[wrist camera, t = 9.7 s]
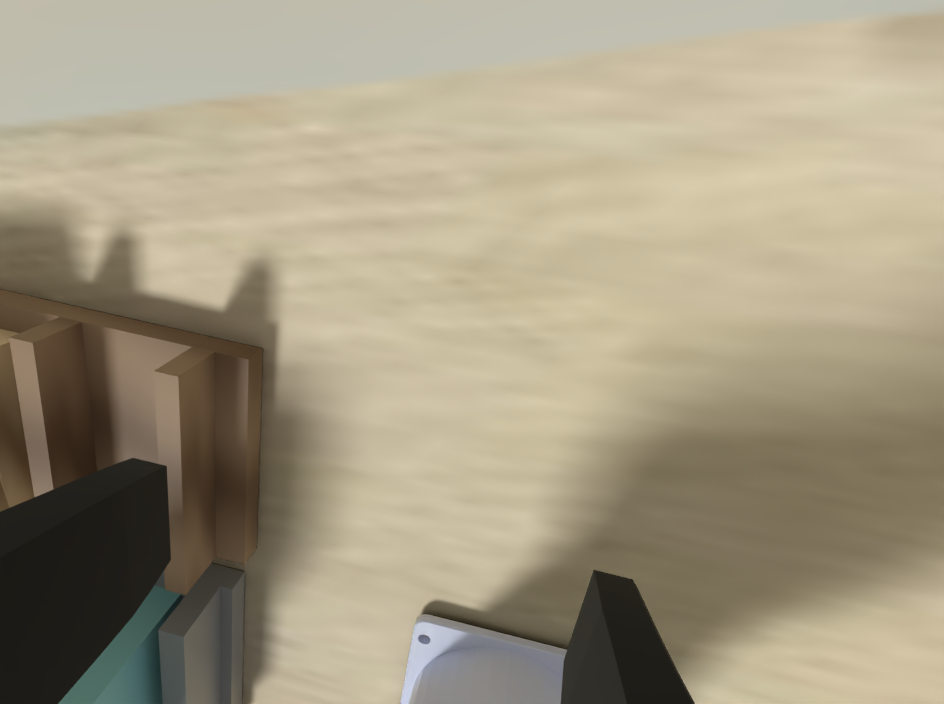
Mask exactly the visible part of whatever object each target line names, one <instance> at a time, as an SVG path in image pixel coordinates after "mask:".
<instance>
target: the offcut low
mask: <svg viewBox="0 0 944 704" xmlns="http://www.w3.org/2000/svg"><path fill="white" fill-rule="evenodd" d="M16 334H19V333H16V332H12V331H7V330H3V329H0V481H1V484H2V487H3V490H4V493H5V496H6V499H7V502H8V505H9V508H10V507H13V506H15V505H17V504H20V503H22V502H25V501H27V500H29V499H32V498H34V492H33V485H32V479H31V473H30V467H29V460H28V454H27V448H26V441H25V435H24V429H23V422H22V416H21V410H20V403H19V397H18V391H17V385H16V378H15V372H14V366H13V359H12V353H11V347H10V340H9V337H12V336H14V335H16Z"/></svg>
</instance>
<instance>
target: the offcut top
mask: <svg viewBox="0 0 944 704" xmlns="http://www.w3.org/2000/svg"><path fill="white" fill-rule="evenodd" d="M8 508H9V505H8V502H7V499H6V496H5V493H4V490H3V487H2V484H1V481H0V511H3V510H5V509H8Z"/></svg>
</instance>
